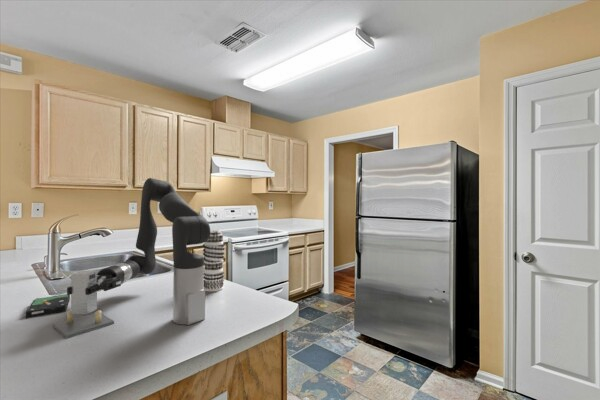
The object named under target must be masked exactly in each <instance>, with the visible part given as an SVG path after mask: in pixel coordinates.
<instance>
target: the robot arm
mask: <svg viewBox="0 0 600 400" xmlns="http://www.w3.org/2000/svg"><path fill="white" fill-rule="evenodd" d="M140 201H141V202H140V216H139V217H140V218H139V227H138V228H139V229H138V233H137V236H136V243H135V248H136V249H137V250H139V251H141V252H143V253H144V255H138V254H135V255H131V256H129V257H128V258H127V259H126V260H125V261H122V262H120V263H116V264H112V265H110V266H107V267H105V268H102V269H100V270H99V271H97V284H94V285H92V286H89V287H87V288H86V289H85V294H86V295H90V294H92V293H94V292H96V291H97V293H98V292H102V291H103V292H107V291H110V290H113V289H116V288H118V287H121V285H123V284H125V283H126V282H128V281H129V280H132V279H133V278H135V277H137V275H139V274H141V275H150V274H152V273H153V272H154V271H155V269H156V265H157V261H156V252H155V251H156V249H155V247H156V241H157V235H158V228H157V227H158V226H157V223H156V220H155V219H154V216H153V213H152V210H151V209H152V208H151V201H153V202H158V209H159V212H160V213H161V215H162V216H163V218H164V219H165V220H167V221H168V222H170V223H172V230H171V234H172V235H171V236H172V237H171V238H172V259H173V276H172V277H173V279H172V280H173V283H172V284H173V285H172V286H173V289H172V290H173V291H172V292H173V293H172V295H173V296H172V322H173V323H174V324H177V325H187V326H190V325H193V324H195V323H198V322H200V321H203V320H205V319H206V291H205V290H204V280H205V279H204V276H205V275H204V268H205V263H204V255H201V254H198V253H193V252H191V251H188V247H187V246H193V245H201V244H204V242H206V241H207V240H208V239H209V237H210V231H211V226H210V224H209V222H208V221H209V220H207V219H206V217H204V216H203V215H202V214H200V213H198V212H197V211H196V210H194V208H192V207H191V206H190V205H189V204H188V203H187V201H185V199H184V198H183V197H181V196H180V195H179V194H178V193H177V191H176V189H175V188H174V186H173V185H172V183H171V182H168V181H165V180H160V179H157V178H153V177H149V178H147V179H146V180H145V181H144V183H143V186H142V191H141V200H140ZM66 294H69V295H70V296H71V285H70V286H67V288H66Z"/></svg>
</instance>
